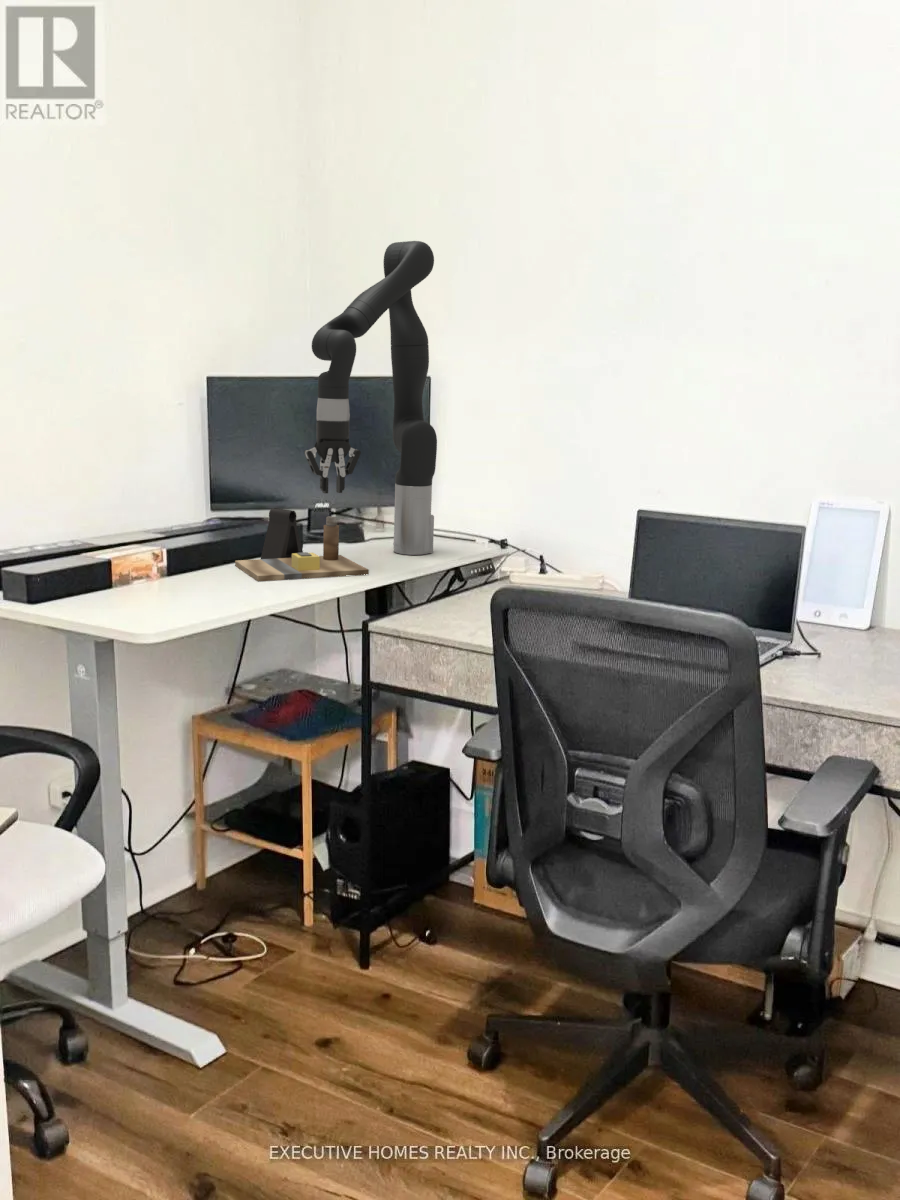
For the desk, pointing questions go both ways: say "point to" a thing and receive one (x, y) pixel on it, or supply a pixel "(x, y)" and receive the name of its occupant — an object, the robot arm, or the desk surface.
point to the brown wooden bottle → (331, 539)
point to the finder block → (305, 561)
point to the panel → (285, 571)
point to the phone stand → (281, 535)
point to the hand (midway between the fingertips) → (332, 492)
